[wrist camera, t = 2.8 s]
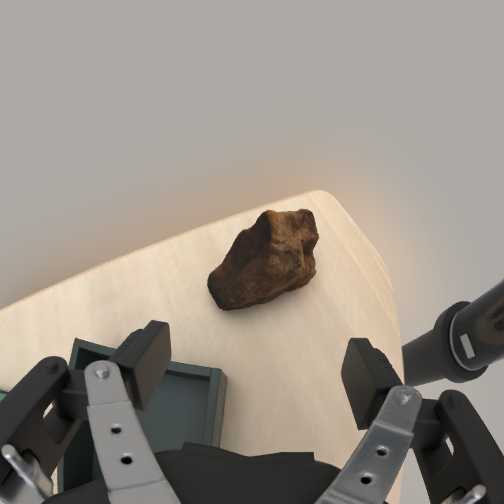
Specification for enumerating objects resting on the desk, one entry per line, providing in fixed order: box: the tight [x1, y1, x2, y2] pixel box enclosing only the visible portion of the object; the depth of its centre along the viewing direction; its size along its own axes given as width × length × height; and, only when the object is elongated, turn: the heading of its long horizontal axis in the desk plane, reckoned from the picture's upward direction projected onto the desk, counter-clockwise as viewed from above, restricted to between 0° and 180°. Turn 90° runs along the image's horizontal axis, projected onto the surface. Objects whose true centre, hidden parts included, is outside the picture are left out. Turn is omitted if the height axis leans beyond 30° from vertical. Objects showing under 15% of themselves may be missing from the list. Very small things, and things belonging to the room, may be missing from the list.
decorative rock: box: [207, 209, 319, 311], centre depth 27 cm, size 12×6×11 cm, turn 110°
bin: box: [57, 338, 227, 493], centre depth 19 cm, size 15×18×7 cm
